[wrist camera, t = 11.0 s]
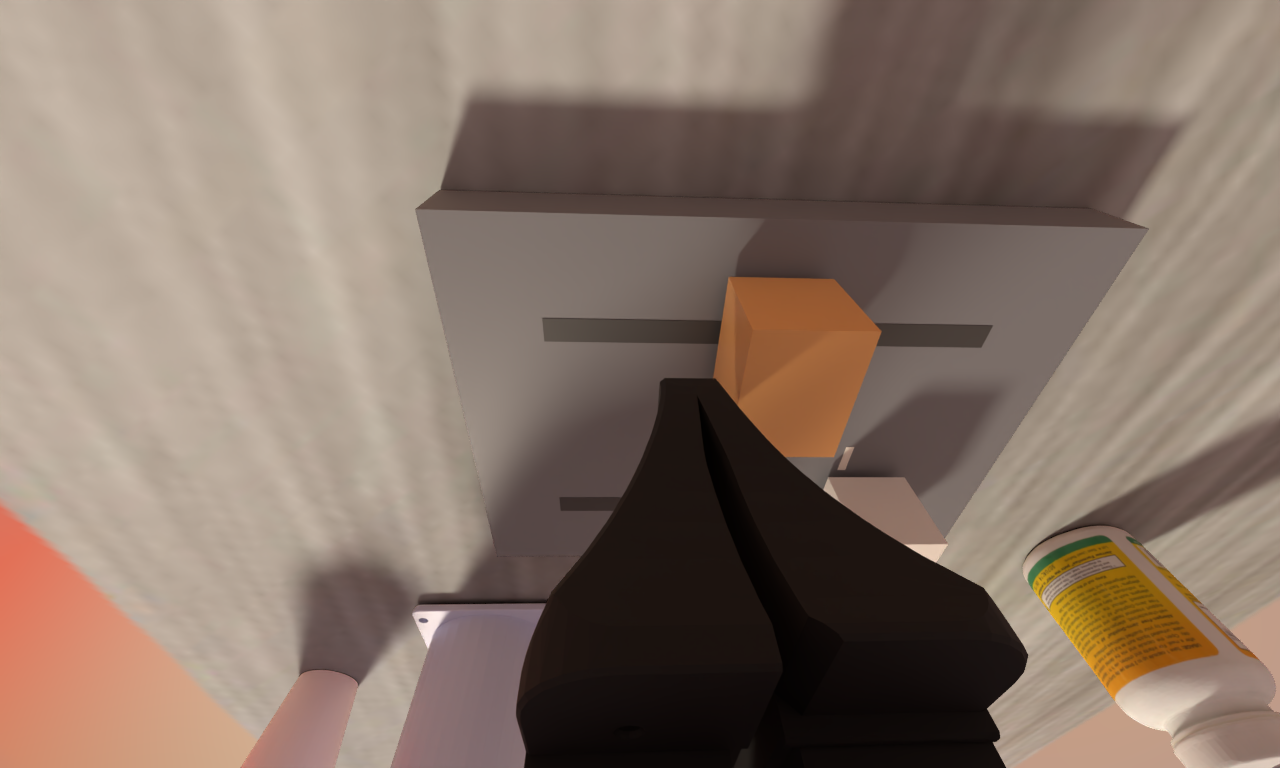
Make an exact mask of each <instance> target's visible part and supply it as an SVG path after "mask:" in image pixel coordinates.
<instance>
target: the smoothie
mask: <svg viewBox="0 0 1280 768" xmlns="http://www.w3.org/2000/svg"><path fill="white" fill-rule="evenodd" d="M357 688H358V683H357V682H356V680H354V679H353V678H352V677H350V676H348V675H345V674H343V673H339V672H335V671H329V670H312V671H307V672H304V673H302V674H301V675H300V676H299V678H298V679H297V681H296V682H295V684H294V685H293V687H292V689H291V690H290V692H289V693H288V695H287V696H286V698H285V699H284V701H283V703H282V704H281V706H280V707H279V709H278V710H277V712H276V713H275V715H274V716H273V718H272V720H271V721H270V723H269V724H268V726H267V727H266V729H265V730H264V732H263V733H262V735H261V737H260V738H259V740H258V741H257V743H256V744H255V746H254V748H253V749H252V751H251V752H250V754H249V755H248V757H247V758H246V760H245V761H244V763H243V765H242V766H241V768H335V764H336V761H337V757H338V754H339V750H340V747H341V743H342V740H343V737H344V733H345V730H346V726H347V723H348V719H349V716H350V712H351V709H352V706H353V702H354V699H355V695H356V692H357Z"/></svg>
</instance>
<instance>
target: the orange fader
mask: <svg viewBox="0 0 1280 768" xmlns="http://www.w3.org/2000/svg"><path fill="white" fill-rule="evenodd" d="M881 332H882V331H881V330H880V329H879V328H878V327H877V326H876V325H875V324H874V323H873V321H872V320H871V319H870V318H869V317H868V316H867V315H866V314H865V313H864V312H863V310H862V309H861V308H860V307H859V306H858V305H857V304H856V303H855V302H854V300H853V299H852V298H851V297H850V296H849V295H848V294H847V293H846V292H845V290H844V289H843V288H842V287H841V286H840V285H839V284H838V283H837V282H836V280H835V279H810V278H762V277H728V284H727V290H726V297H725V304H724V310H723V317H722V323H721V330H720V336H719V343H718V349H717V356H716V363H715V369H714V376H713V378H715V379H716V380H717V381H718V382H719V383H720V384H721V385H722V387H723V388H724V389H725V390H726V392H727V393H728V394H729V395H730V397H731V398H732V399H733V400H734V402H735V403H736V404H737V405H738V407H739V408H740V409H741V410H742V411H743V413H744V414H745V415H746V416H747V417H748V418H749V420H750V421H751V422H752V423H753V424H754V425H755V426H756V427H757V428H758V430H759V431H760V432H761V433H762V434H763V435H764V436H765V437H766V438H767V439H768V440H769V441H770V442H771V444H772V445H773V446H774V447H775V448H776V449H777V450H778V451H779V452H781V453H782V454H783V455H784V456H785V457H834V456H835V453H836V451H837V448H838V445H839V443H840V440H841V437H842V435H843V432H844V430H845V427H846V424H847V422H848V419H849V416H850V414H851V411H852V408H853V406H854V403H855V401H856V398H857V395H858V393H859V390H860V387H861V385H862V382H863V379H864V377H865V374H866V372H867V369H868V366H869V364H870V361H871V358H872V356H873V353H874V350H875V348H876V345H877V343H878V340H879V337H880V335H881Z"/></svg>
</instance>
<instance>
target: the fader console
mask: <svg viewBox="0 0 1280 768" xmlns="http://www.w3.org/2000/svg"><path fill="white" fill-rule="evenodd" d="M415 211H416V215H417V219H418V223H419V228H420V232H421V236H422V240H423V245H424V249H425V253H426V257H427V262H428V266H429V270H430V274H431V279H432V283H433V287H434V291H435V295H436V300H437V304H438V308H439V312H440V317H441V321H442V325H443V329H444V334H445V338H446V342H447V346H448V351H449V355H450V359H451V363H452V368H453V372H454V376H455V380H456V385H457V389H458V393H459V397H460V401H461V406H462V410H463V414H464V418H465V423H466V427H467V431H468V435H469V440H470V444H471V448H472V452H473V457H474V461H475V465H476V469H477V474H478V478H479V482H480V486H481V491H482V495H483V499H484V503H485V507H486V512H487V516H488V520H489V524H490V529H491V533H492V537H493V541H494V546H495V550H496V554H497V557H498V556H582V555H583V554H584V553H585V551H586V550H587V549H588V547H589V546H590V544H591V543H592V542H593V540H594V539H595V537H596V536H597V535H598V533H599V532H600V530H601V529H602V528H603V526H604V525H605V523H606V522H607V520H608V519H609V517H610V516H611V514H612V513H613V511H614V509H615V508H616V506H617V504H618V503H619V501H620V499H621V498H622V496H623V494H624V492H625V491H626V489H627V487H628V485H629V483H630V481H631V479H632V477H633V476H634V473H635V471H636V469H637V467H638V465H639V463H640V461H641V458H642V456H643V454H644V451H645V448H646V446H647V443H648V441H649V438H650V436H651V433H652V430H653V426H654V423H655V419H656V416H657V412H658V399H659V385H660V381H661V380H663V379H664V378H713V376H714V369H715V363H716V356H717V349H718V343H719V336H720V330H721V323H722V317H723V310H724V304H725V297H726V290H727V284H728V277H762V278H810V279H835V280H836V282H837V283H838V284H839V285H840V286H841V287H842V288H843V289H844V290H845V292H846V293H847V294H848V295H849V296H850V297H851V298H852V299H853V300H854V302H855V303H856V304H857V305H858V306H859V307H860V308H861V309H862V310H863V312H864V313H865V314H866V315H867V316H868V317H869V318H870V319H871V320H872V321H873V323H874V324H875V325H876V326H877V327H878V328H879V329H880V330H881V331H882V332H881V335H880V337H879V340H878V343H877V345H876V348H875V350H874V353H873V356H872V358H871V361H870V364H869V366H868V369H867V372H866V374H865V377H864V379H863V382H862V385H861V387H860V390H859V393H858V395H857V398H856V401H855V403H854V406H853V408H852V411H851V414H850V416H849V419H848V422H847V424H846V427H845V430H844V432H843V435H842V437H841V440H840V443H839V445H838V448H837V451H836V453H835V456H834V457H786V458H787V459H788V460H789V461H790V462H791V463H792V464H793V465H794V466H795V467H797V468H798V469H799V470H800V471H801V472H802V473H803V474H805V475H806V476H807V477H808V478H810V479H811V480H812V481H813V482H814V483H816V484H817V485H818V486H819V487H820V488H822V489H824V487H825V484H826V481H827V479H828V477H905V479H906V480H907V482H908V483H909V485H910V487H911V488H912V490H913V491H914V493H915V494H916V496H917V497H918V499H919V500H920V502H921V503H922V505H923V506H924V508H925V510H926V511H927V513H928V514H929V516H930V517H931V519H932V520H933V522H934V523H935V525H936V526H937V528H938V529H939V531H940V533H941V534H942V536H943V537H944V539H945V537H946V536H947V534H948V533H949V531H950V530H951V528H952V527H953V525H954V523H955V522H956V520H957V519H958V517H959V516H960V514H961V513H962V511H963V510H964V508H965V507H966V505H967V504H968V502H969V501H970V499H971V498H972V496H973V495H974V493H975V492H976V490H977V489H978V487H979V486H980V484H981V483H982V481H983V480H984V478H985V477H986V475H987V473H988V472H989V470H990V469H991V467H992V466H993V464H994V463H995V461H996V460H997V458H998V457H999V455H1000V454H1001V452H1002V451H1003V449H1004V448H1005V446H1006V445H1007V443H1008V442H1009V440H1010V439H1011V437H1012V436H1013V434H1014V433H1015V431H1016V430H1017V428H1018V427H1019V425H1020V423H1021V422H1022V420H1023V419H1024V417H1025V416H1026V414H1027V413H1028V411H1029V410H1030V408H1031V407H1032V405H1033V404H1034V402H1035V401H1036V399H1037V398H1038V396H1039V395H1040V393H1041V392H1042V390H1043V389H1044V387H1045V386H1046V384H1047V383H1048V381H1049V380H1050V378H1051V377H1052V375H1053V374H1054V372H1055V370H1056V369H1057V367H1058V366H1059V364H1060V363H1061V361H1062V360H1063V358H1064V357H1065V355H1066V354H1067V352H1068V351H1069V349H1070V348H1071V346H1072V345H1073V343H1074V342H1075V340H1076V339H1077V337H1078V336H1079V334H1080V333H1081V331H1082V330H1083V328H1084V327H1085V325H1086V324H1087V322H1088V320H1089V319H1090V317H1091V316H1092V314H1093V313H1094V311H1095V310H1096V308H1097V307H1098V305H1099V304H1100V302H1101V301H1102V299H1103V298H1104V296H1105V295H1106V293H1107V292H1108V290H1109V289H1110V287H1111V286H1112V284H1113V283H1114V281H1115V280H1116V278H1117V277H1118V275H1119V274H1120V272H1121V270H1122V269H1123V267H1124V266H1125V264H1126V263H1127V261H1128V260H1129V258H1130V257H1131V255H1132V254H1133V252H1134V251H1135V249H1136V248H1137V246H1138V245H1139V243H1140V242H1141V240H1142V239H1143V237H1144V236H1145V234H1146V233H1147V231H1148V230H1149V229H1148V228H1145V227H1143V226H1140V225H1137V224H1134V223H1131V222H1128V221H1125V220H1123V219H1120V218H1117V217H1114V216H1111V215H1108V214H1105V213H1103V212H1100V211H1097V210H1094V209H1091V208H1056V207H1021V206H986V205H951V204H916V203H881V202H845V201H810V200H775V199H740V198H705V197H669V196H634V195H599V194H564V193H529V192H493V191H458V190H439V191H437V192H436V193H435V194H434V195H432V196H431V197H430V198H429V199H427V200H426V201H425V202H424V203H422V204H421V205H420V206H419V207H417V208H416V209H415Z"/></svg>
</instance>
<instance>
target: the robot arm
mask: <svg viewBox="0 0 1280 768" xmlns="http://www.w3.org/2000/svg"><path fill="white" fill-rule="evenodd" d="M412 615H413V618H414V620H415V622H416V624H417V626H418V628H419V630H420V633H421V635H422V637H423V639H424V641H425V643H426V645H427V648H428V652H427V655H426V658H425V661H424V665H423V668H422V671H421V674H420V677H419V680H418V683H417V686H416V690H415V693H414V696H413V699H412V702H411V705H410V708H409V711H408V715H407V718H406V721H405V724H404V727H403V730H402V733H401V736H400V739H399V743H398V746H397V749H396V752H395V755H394V758H393V761H392V764H391V768H1006V767H1005V765H1004V763H1003V761H1002V759H1001V757H1000V755H999V753H998V752H997V750H996V748H995V746H994V744H993V742H996V741H998V740H999V739H1000V732H999V730H998V728H997V726H996V724H995V723H994V721H993V719H992V717H991V715H990V714H989V712H988V710H987V708H988V707H989V706H990V705H991V704H992V703H994V702H995V701H996V700H997V699H998V698H999V697H1000V696H1001V695H1002V694H1003V693H1004V692H1006V691H1007V690H1008V689H1009V688H1010V687H1011V686H1012V685H1013V684H1014V683H1015V682H1016V681H1017V680H1018V679H1019V677H1020V676H1021V675H1022V674H1023V673H1024V670H1025V667H1026V663H1027V658H1028V654H1027V652H1026V650H1025V648H1024V646H1023V644H1022V643H1021V641H1020V640H1019V638H1018V637H1017V635H1016V634H1015V632H1014V631H1013V629H1012V628H1011V626H1010V625H1009V623H1008V622H1007V620H1006V619H1005V617H1004V616H1003V614H1002V613H1001V611H1000V610H999V608H998V607H997V606H996V604H995V603H994V601H993V600H992V598H991V597H990V596H989V595H988V593H987V592H986V591H985V589H984V588H983V587H981V586H979V585H977V584H975V583H973V582H971V581H970V580H968V579H966V578H964V577H962V576H960V575H958V574H956V573H954V572H953V571H951V570H949V569H947V568H945V567H943V566H941V565H939V564H937V563H935V562H934V561H932V560H930V559H928V558H926V557H924V556H922V555H921V554H919V553H917V552H915V551H914V550H912V549H910V548H909V547H907V546H906V545H904V544H902V543H901V542H899V541H897V540H896V539H894V538H892V537H891V536H889V535H887V534H886V533H884V532H883V531H881V530H879V529H878V528H876V527H875V526H873V525H872V524H870V523H869V522H867V521H866V520H864V519H863V518H861V517H860V516H858V515H857V514H856V513H854V512H853V511H851V510H850V509H849V508H847V507H846V506H844V505H843V504H841V503H840V502H839V501H837V500H836V499H835V498H833V497H832V496H831V495H829V494H828V493H827V492H825V491H824V490H823V489H822V488H820V487H819V486H818V485H817V484H816V483H814V482H813V481H812V480H811V479H810V478H808V477H807V476H806V475H805V474H803V473H802V472H801V471H800V470H799V469H798V468H797V467H795V466H794V465H793V464H792V463H791V462H790V461H789V460H788V459H787V458H786V457H785V456H784V455H783V454H782V453H781V452H779V451H778V450H777V449H776V448H775V447H774V446H773V445H772V444H771V442H770V441H769V440H768V439H767V438H766V437H765V436H764V435H763V434H762V433H761V432H760V431H759V430H758V428H757V427H756V426H755V425H754V424H753V423H752V422H751V421H750V420H749V418H748V417H747V416H746V415H745V414H744V413H743V411H742V410H741V409H740V408H739V407H738V405H737V404H736V403H735V402H734V400H733V399H732V398H731V397H730V395H729V394H728V393H727V392H726V390H725V389H724V388H723V387H722V385H721V384H720V383H719V382H718V381H717V380H716V379H715V378H664V379H663V380H661V381H660V385H659V399H658V412H657V416H656V419H655V423H654V426H653V430H652V433H651V436H650V438H649V441H648V443H647V446H646V448H645V451H644V454H643V456H642V458H641V461H640V463H639V465H638V467H637V469H636V471H635V473H634V476H633V477H632V479H631V481H630V483H629V485H628V487H627V489H626V491H625V492H624V494H623V496H622V498H621V499H620V501H619V503H618V504H617V506H616V508H615V509H614V511H613V513H612V514H611V516H610V517H609V519H608V520H607V522H606V523H605V525H604V526H603V528H602V529H601V530H600V532H599V533H598V535H597V536H596V537H595V539H594V540H593V542H592V543H591V544H590V546H589V547H588V549H587V550H586V551H585V553H584V554H583V555H582V556H581V558H580V559H579V560H578V561H577V563H576V564H575V565H574V566H573V567H572V568H571V570H570V571H569V572H568V573H567V574H566V576H565V577H564V578H563V579H562V580H561V582H560V583H559V584H558V585H557V586H556V587H555V589H554V590H553V591H552V592H551V594H550V597H549V599H548V601H547V603H526V604H432V605H418V606H415V608H414V610H413V613H412ZM1272 768H1280V764H1278V765H1276V766H1274V767H1272Z"/></svg>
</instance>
